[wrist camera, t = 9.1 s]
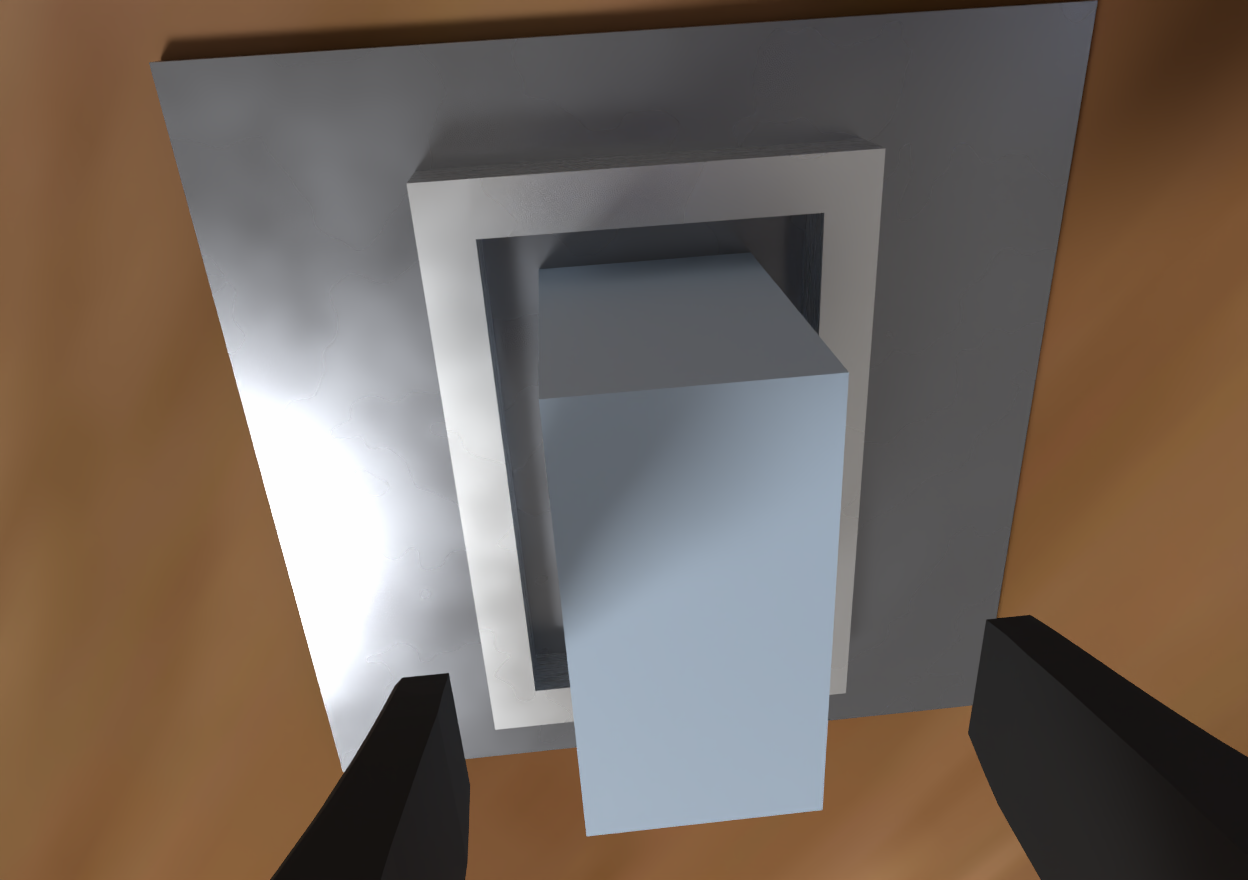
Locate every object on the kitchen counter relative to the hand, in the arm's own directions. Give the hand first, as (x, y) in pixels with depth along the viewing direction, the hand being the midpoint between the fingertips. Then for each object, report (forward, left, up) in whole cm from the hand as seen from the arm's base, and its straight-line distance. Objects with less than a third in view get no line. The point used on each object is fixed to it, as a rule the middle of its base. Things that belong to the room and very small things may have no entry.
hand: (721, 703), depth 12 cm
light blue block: (0, 0, -7) cm, 7 cm away
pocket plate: (0, 0, -8) cm, 8 cm away
